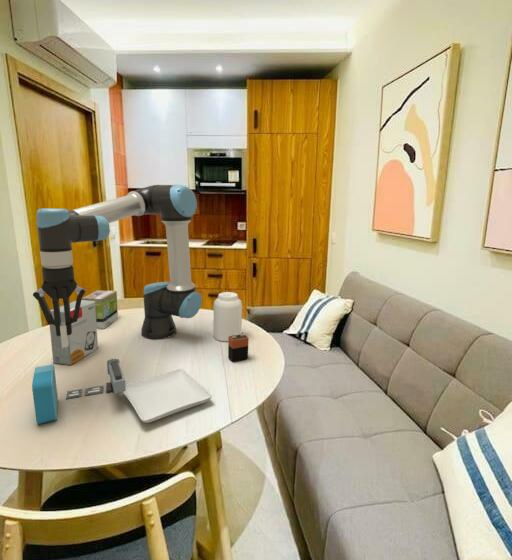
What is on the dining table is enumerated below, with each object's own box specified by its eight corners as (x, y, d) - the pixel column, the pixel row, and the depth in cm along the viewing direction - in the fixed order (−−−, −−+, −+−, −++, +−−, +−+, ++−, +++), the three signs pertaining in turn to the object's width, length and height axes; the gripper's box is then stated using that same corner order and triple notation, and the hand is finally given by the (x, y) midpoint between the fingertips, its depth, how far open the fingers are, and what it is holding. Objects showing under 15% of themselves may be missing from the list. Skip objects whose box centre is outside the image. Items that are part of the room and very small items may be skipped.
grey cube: (123, 382, 109) (122, 369, 108) (123, 390, 105) (122, 376, 104) (106, 385, 108) (105, 371, 106) (106, 393, 103) (105, 379, 102)
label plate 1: (82, 390, 104) (81, 388, 104) (81, 396, 101) (81, 395, 101) (67, 392, 103) (67, 391, 103) (66, 399, 99) (65, 398, 99)
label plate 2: (103, 386, 107) (103, 385, 107) (102, 393, 103) (102, 391, 103) (85, 389, 105) (85, 388, 105) (84, 396, 101) (84, 394, 101)
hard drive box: (70, 366, 119) (65, 313, 114) (52, 363, 120) (46, 311, 116) (99, 348, 134) (95, 300, 129) (82, 346, 135) (78, 299, 131)
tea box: (105, 329, 153) (102, 298, 150) (83, 328, 153) (80, 297, 150) (118, 318, 168) (116, 290, 165) (98, 317, 168) (96, 289, 165)
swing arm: (107, 371, 106) (106, 357, 105) (119, 368, 107) (118, 354, 106) (113, 394, 93) (112, 378, 92) (126, 391, 95) (125, 375, 94)
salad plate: (181, 375, 116) (181, 366, 115) (213, 405, 99) (213, 395, 99) (118, 395, 103) (118, 385, 102) (143, 433, 87) (143, 421, 86)
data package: (40, 402, 97) (35, 365, 95) (57, 399, 99) (53, 362, 97) (37, 427, 87) (31, 385, 84) (57, 422, 89) (52, 381, 87)
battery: (248, 359, 128) (249, 335, 126) (232, 362, 125) (232, 338, 123) (243, 354, 132) (244, 331, 130) (227, 358, 129) (228, 333, 127)
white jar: (230, 344, 141) (231, 299, 137) (207, 337, 148) (207, 294, 143) (246, 335, 152) (247, 293, 147) (224, 329, 158) (225, 288, 153)
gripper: (85, 262, 98) (91, 337, 103) (32, 264, 92) (41, 343, 98) (83, 267, 91) (89, 347, 96) (26, 269, 86) (36, 354, 91)
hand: (65, 345), depth 97 cm, fingers closed
